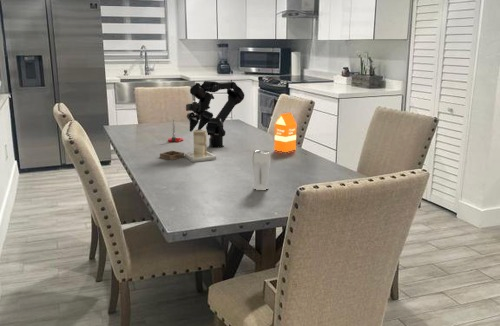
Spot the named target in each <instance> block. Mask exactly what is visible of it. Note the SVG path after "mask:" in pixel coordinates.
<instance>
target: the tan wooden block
mask: <svg viewBox="0 0 500 326" xmlns="http://www.w3.org/2000/svg"><path fill="white" fill-rule="evenodd" d="M192 133H193V152H194V157H195V158H198V157H206V156H207V151H208V145H207V143H208V142H207V141H208V140H207V136H208V134H207V130H206V129H201V130H198V129H194V130H193V131H192Z"/></svg>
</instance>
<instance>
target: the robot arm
mask: <svg viewBox="0 0 500 326" xmlns="http://www.w3.org/2000/svg"><path fill="white" fill-rule="evenodd" d="M220 90H226V94H227V101H226V103H225V104H224V105H223V106H222V108H221V110H220V111H219V113H217V115H216V117H214V114H213V112H211V111H209V109H211V106H210V104H211V100H214V99H215V96H214V94H213V93H217V92H219V91H220ZM189 93H190V94H191V95H192V96H193V97H194V98H195V99H197V100H198V102H197V101H192V103H188V104H185V111H187V112H188V113H187V114H186V119H187V120H189V132H190V133H191V132H192V133H193V131H194V130H195V128H196V126H197V125H198V126H197V130H203V128H204V127H205V126H206V127H205V130H206V134H207V136H209V143H208V146H209V147H211V148H213V149H214V148H217V149H218V148H223V147H225V145H224V143H223V141H224V139H223V138H224V137H225V136H226V130H225V129H224V122H225V121H226V119H227V118H228V117H229V115H230V114H231V113H232V111H233V109H234V108H235V107H236V106H237V105H238V104H240V103H241V102H242V101H244V99H245V93H244V91H243V90H242V88H241V87H239V85H238V84H237V83H236V82H235V81H220V82H218V81H213V80H211V81H210V80H204V81H203V82H202V83H199V82H196V83H195V84H193V85H192V86H191V87H190V89H189ZM189 111H190V112H189Z"/></svg>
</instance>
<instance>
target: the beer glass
mask: <svg viewBox="0 0 500 326" xmlns="http://www.w3.org/2000/svg"><path fill="white" fill-rule="evenodd" d="M270 169H271V151H270V150H267V149H257V150H253V151H252V171H253V177H254V178H253V179H254V180H253V181H254V182H253V187H252V188H254V189H256V190H255V191H257V190H266V189H268V188H269V189H270V187H269V175H270ZM254 189H253V190H254ZM269 189H268V190H269ZM266 191H267V190H266Z"/></svg>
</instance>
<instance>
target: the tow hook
mask: <svg viewBox="0 0 500 326" xmlns="http://www.w3.org/2000/svg"><path fill="white" fill-rule="evenodd" d="M175 128H176V123H175V119H172V134H171V135H172V137H171V138H168V139H167V142H170V143H180V142H183V141H184V138H182V137H181V138H180V137H176V131H175V130H176V129H175Z"/></svg>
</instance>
